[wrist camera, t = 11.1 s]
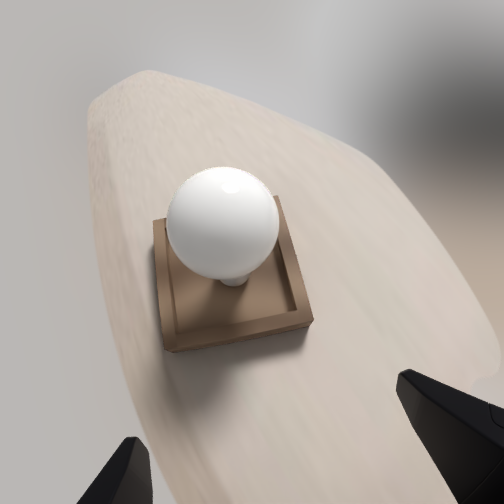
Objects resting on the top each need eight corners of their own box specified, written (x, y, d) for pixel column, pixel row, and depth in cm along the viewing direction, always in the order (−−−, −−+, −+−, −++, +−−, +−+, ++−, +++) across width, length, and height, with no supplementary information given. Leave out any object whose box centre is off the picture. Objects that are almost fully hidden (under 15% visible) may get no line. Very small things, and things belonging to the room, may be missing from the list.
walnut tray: (309, 325, 23) (313, 319, 21) (172, 352, 22) (164, 349, 20) (276, 209, 28) (277, 195, 26) (160, 233, 27) (152, 220, 25)
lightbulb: (287, 256, 25) (301, 165, 15) (252, 325, 22) (243, 273, 12) (219, 226, 26) (196, 131, 16) (181, 290, 24) (127, 218, 14)
